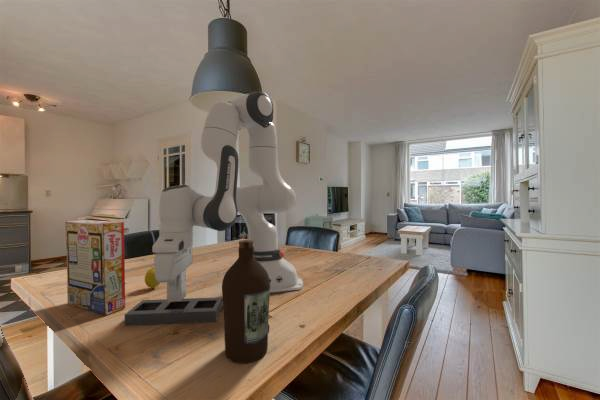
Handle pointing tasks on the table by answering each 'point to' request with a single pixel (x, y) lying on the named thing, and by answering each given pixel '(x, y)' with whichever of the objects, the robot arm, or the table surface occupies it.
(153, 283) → the lemon
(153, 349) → the table surface
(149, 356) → the table surface
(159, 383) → the table surface
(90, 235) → the cereal box
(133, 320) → the grey compartment tray
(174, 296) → the steel peg
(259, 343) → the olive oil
